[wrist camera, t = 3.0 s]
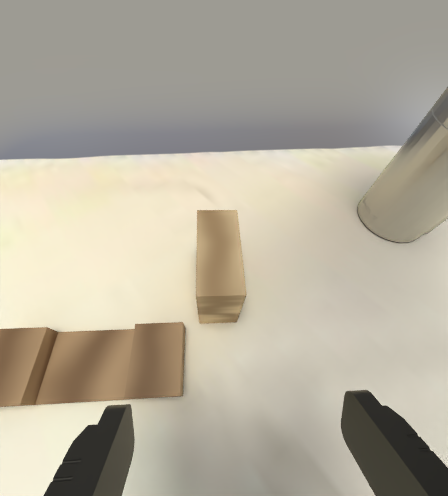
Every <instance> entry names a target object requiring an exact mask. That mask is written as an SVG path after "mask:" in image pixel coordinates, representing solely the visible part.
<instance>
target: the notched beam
mask: <svg viewBox="0 0 448 496" xmlns="http://www.w3.org/2000/svg"><path fill="white" fill-rule="evenodd" d="M184 350H185V326H184V324H183V322H179V323H152V324H135V329H129V330H103V331H77V332H57V331H54V330H52V329H50V328H47V327H44V328H17V329H0V407H6V406H23V405H40V404H56V403H73V402H90V401H107V400H124V399H141V398H157V397H174V396H183V377H184Z"/></svg>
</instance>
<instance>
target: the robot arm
mask: <svg viewBox="0 0 448 496" xmlns="http://www.w3.org/2000/svg"><path fill="white" fill-rule="evenodd" d="M358 214H359V217H360V218H361V220H362V222H363V223H364V224H365V225H366V226H367V228H369V229H370V230H371V231H372V232H374V233H375V234H377V235H378V236H380V237H382V238H385V239H387V240H390V241H394V242H401V243H402V242H411V241H414V240H416V239H417V238H419V237H420V236H421V235H423V234H427V233H429V232H430V231H432V230H433V229H434V228H436V227H437V226H438V225H440V224H441V223H442V222H444V221H445V220H446V219H448V87H447V89H446V90H445V91H444V93H443V94H442V95H441V96H440V98H439V99H438V100H437V101H436V103H435V104H434V106H433V107H432V108H431V110H430V111H429V112H428V113H427V115H426V116H425V117H424V119H423V120H422V121H421V123H420V124H419V125H418V127H417V128H416V129H415V131H414V132H413V133H412V134H411V136H410V137H409V138H408V140H407V141H406V142H405V143H404V145H403V146H402V147H401V149H400V150H399V151H398V153H397V154H396V155H395V156H394V158H393V159H392V160H391V162H390V163H389V164H388V166H387V167H386V168H385V170H384V171H383V172H382V173H381V175H380V176H379V177H378V179H377V180H376V181H375V183H374V184H373V185H372V186H371V188H370V189H369V190H368V192H367V193H366V194H365V196H364V197H363V198H362V200H361V201H360V202H359V205H358ZM341 430H342V434H343V437H344V440H345V442H346V444H347V446H348V448H349V450H350V451H351V453H352V455H353V457H354V458H355V460H356V462H357V464H358V465H359V467H360V469H361V471H362V472H363V474H364V476H365V478H366V480H367V481H368V483H369V485H370V487H371V488H372V490H373V492H374V494H375V495H376V496H448V468H447V467H446V465H445V464H444V463H443V462H442V461H441V460H440V459H439V458H438V457H437V455H436V454H435V453H434V452H433V451H431V450H430V448H429V446H428V445H427V444H426V443H425V442H424V441H423V440H422V439H421V437H418V435H417V433H416V432H415V431H414V430H413V428H412V427H411V426H410V425H409V424H408V423H407V422H406V421H405V419H404V418H402V417H401V416H400V415H398V414H397V413H396V412H394V411H393V410H392V409H390V408H389V407H388V406H382V405H381V404H380V403H379V402H378V400H377V399H376V398H375V397H374V396H373V395H372V393H371V392H369V391H368V390H359V391H347V392H346V393H345V396H344V403H343V411H342V418H341ZM133 451H134V429H133V419H132V409H131V405H130V404H126V405H111V406H107V407H106V409H105V410H104V412H103V414H102V417H101V419H100V421H99V423H98V425H88V426H87V427H86V428H85V429H84V430H83V431H82V432H81V434H80V435H79V436H78V437H77V438H76V439H75V440H74V441H73V443H72V444H71V446H70V448H69V450H68V452H67V454H66V455H65V457H64V459H63V462H62V465H60V467H59V468H58V470H57V472H56V474H55V476H54V478H53V481H52V482H51V483H50V485H49V487H48V489H47V490H46V492H45V494H44V496H122V493H123V489H124V485H125V482H126V478H127V475H128V471H129V468H130V464H131V461H132V456H133Z"/></svg>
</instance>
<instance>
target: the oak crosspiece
mask: <svg viewBox="0 0 448 496" xmlns="http://www.w3.org/2000/svg"><path fill="white" fill-rule="evenodd" d="M245 297H246V288H245V278H244V269H243V260H242V250H241V241H240V232H239V222H238V213H237V210H197V264H196V300H197V308H198V315H199V323H200V324H202V323H228V322H237V320H238V317H239V314H240V311H241V309H242V306H243V303H244V300H245Z"/></svg>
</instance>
